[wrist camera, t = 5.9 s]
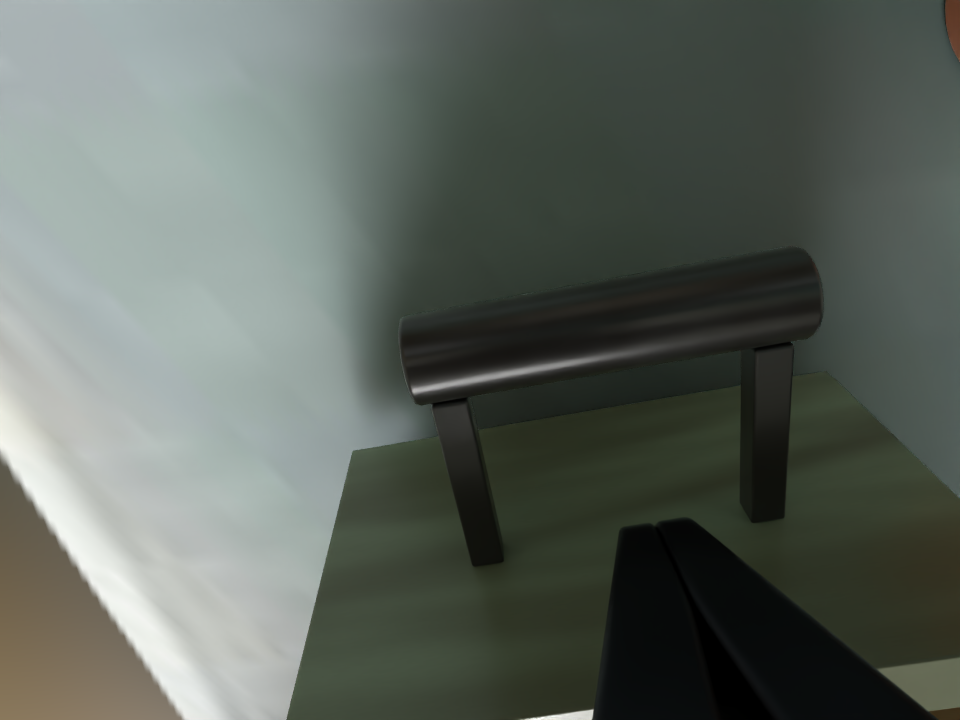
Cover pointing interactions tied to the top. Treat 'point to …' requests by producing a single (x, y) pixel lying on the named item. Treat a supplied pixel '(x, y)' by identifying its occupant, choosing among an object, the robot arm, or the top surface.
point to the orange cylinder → (953, 24)
